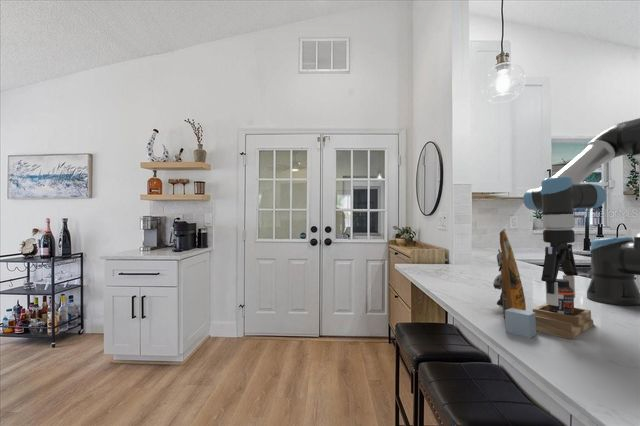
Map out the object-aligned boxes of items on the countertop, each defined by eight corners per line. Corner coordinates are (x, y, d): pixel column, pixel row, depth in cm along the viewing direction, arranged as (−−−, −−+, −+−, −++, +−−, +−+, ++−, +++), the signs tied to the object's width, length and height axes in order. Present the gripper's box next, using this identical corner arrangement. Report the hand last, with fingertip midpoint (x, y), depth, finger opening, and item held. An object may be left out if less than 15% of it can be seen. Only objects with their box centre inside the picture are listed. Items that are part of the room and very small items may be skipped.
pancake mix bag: (494, 320, 98) (491, 230, 99) (505, 306, 113) (502, 227, 114) (520, 325, 94) (516, 230, 95) (528, 309, 109) (525, 227, 109)
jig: (545, 315, 103) (545, 302, 103) (593, 324, 93) (592, 310, 93) (520, 327, 92) (520, 313, 92) (571, 339, 82) (571, 323, 82)
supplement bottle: (566, 322, 91) (565, 282, 91) (544, 316, 96) (543, 279, 96) (579, 319, 93) (577, 280, 93) (557, 314, 99) (555, 277, 99)
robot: (506, 310, 108) (504, 251, 109) (490, 308, 112) (488, 250, 112) (519, 299, 123) (517, 247, 123) (504, 297, 126) (503, 246, 126)
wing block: (512, 328, 91) (511, 307, 91) (536, 334, 86) (535, 312, 86) (505, 332, 89) (504, 310, 89) (529, 338, 84) (528, 315, 84)
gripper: (558, 227, 105) (561, 291, 105) (526, 231, 91) (529, 305, 90) (587, 227, 99) (590, 295, 99) (557, 231, 85) (560, 311, 84)
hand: (561, 300), depth 95 cm, fingers open, 13 cm apart
